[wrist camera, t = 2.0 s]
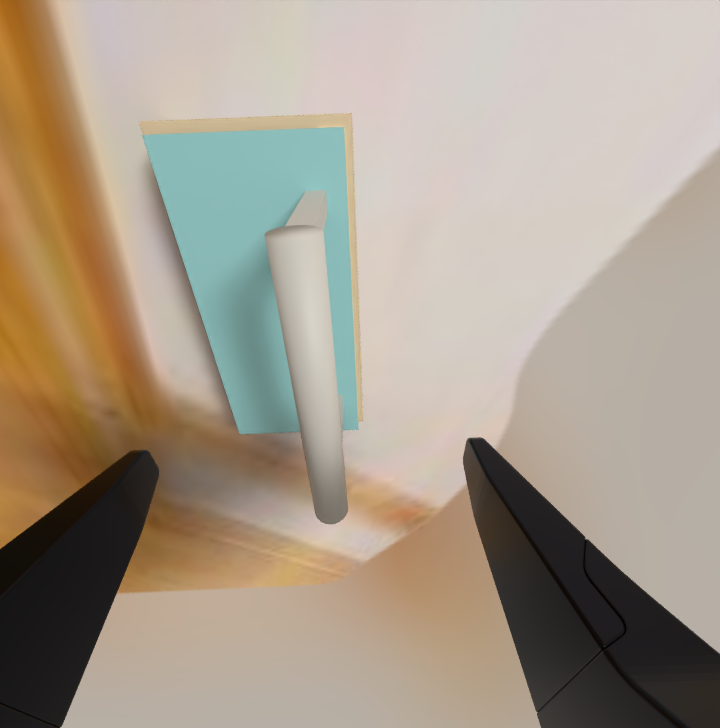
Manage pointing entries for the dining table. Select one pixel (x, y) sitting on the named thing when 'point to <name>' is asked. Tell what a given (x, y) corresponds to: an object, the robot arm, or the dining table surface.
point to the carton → (289, 123)
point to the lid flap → (272, 281)
